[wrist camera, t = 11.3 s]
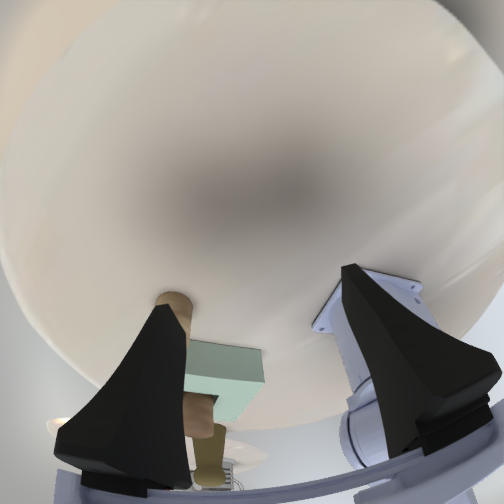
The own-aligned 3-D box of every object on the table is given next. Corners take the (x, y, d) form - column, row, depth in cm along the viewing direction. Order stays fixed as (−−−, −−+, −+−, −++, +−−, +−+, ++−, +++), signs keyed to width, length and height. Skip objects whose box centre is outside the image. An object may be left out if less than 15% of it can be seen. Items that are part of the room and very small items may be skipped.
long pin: (215, 364, 30) (216, 430, 24) (210, 378, 32) (210, 439, 26) (187, 360, 30) (183, 427, 23) (183, 374, 31) (179, 436, 25)
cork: (199, 434, 45) (200, 488, 36) (184, 424, 41) (183, 483, 33) (230, 431, 44) (234, 487, 36) (218, 421, 41) (221, 483, 32)
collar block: (260, 349, 29) (264, 382, 26) (233, 395, 35) (234, 421, 32) (153, 333, 27) (148, 367, 23) (149, 383, 33) (145, 410, 29)
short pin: (195, 296, 24) (192, 333, 21) (189, 320, 26) (186, 356, 23) (158, 288, 23) (150, 324, 20) (154, 313, 25) (148, 348, 22)
